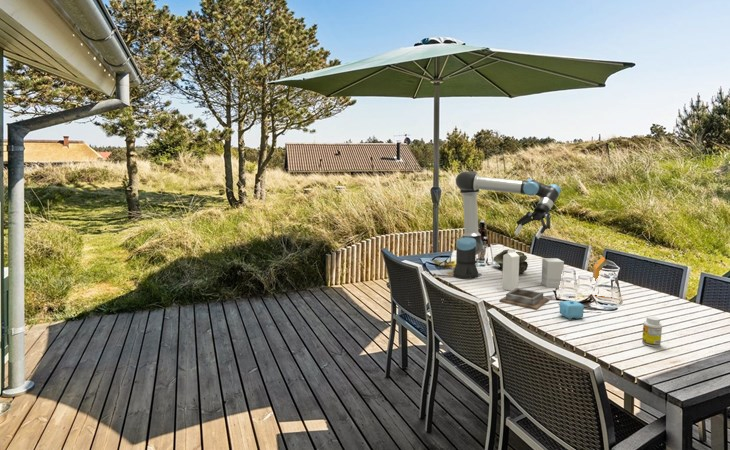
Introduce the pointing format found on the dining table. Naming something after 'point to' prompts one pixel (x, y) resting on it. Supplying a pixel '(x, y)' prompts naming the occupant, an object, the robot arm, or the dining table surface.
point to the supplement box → (551, 271)
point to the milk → (510, 270)
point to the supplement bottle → (652, 331)
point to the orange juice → (599, 267)
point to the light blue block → (571, 309)
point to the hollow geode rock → (522, 258)
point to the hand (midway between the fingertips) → (526, 235)
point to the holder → (525, 298)
